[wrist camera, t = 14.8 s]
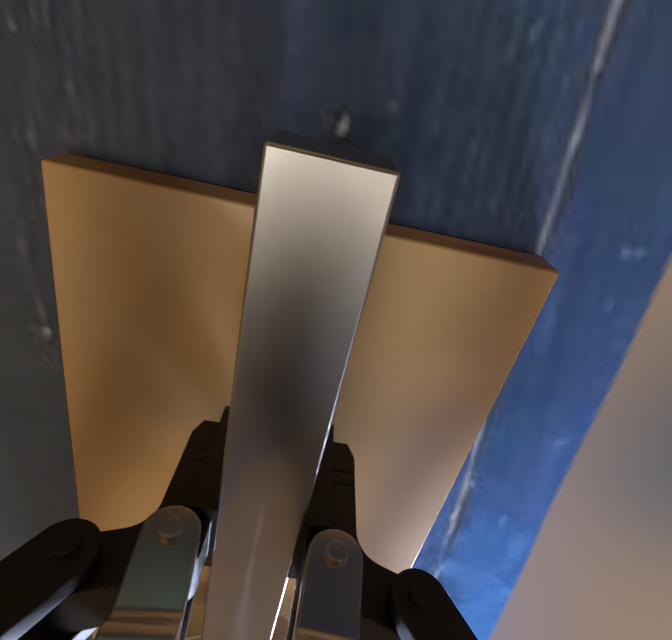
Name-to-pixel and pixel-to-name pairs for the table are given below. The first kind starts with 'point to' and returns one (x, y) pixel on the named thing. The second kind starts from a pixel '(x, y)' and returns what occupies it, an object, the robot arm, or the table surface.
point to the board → (222, 340)
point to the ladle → (290, 366)
